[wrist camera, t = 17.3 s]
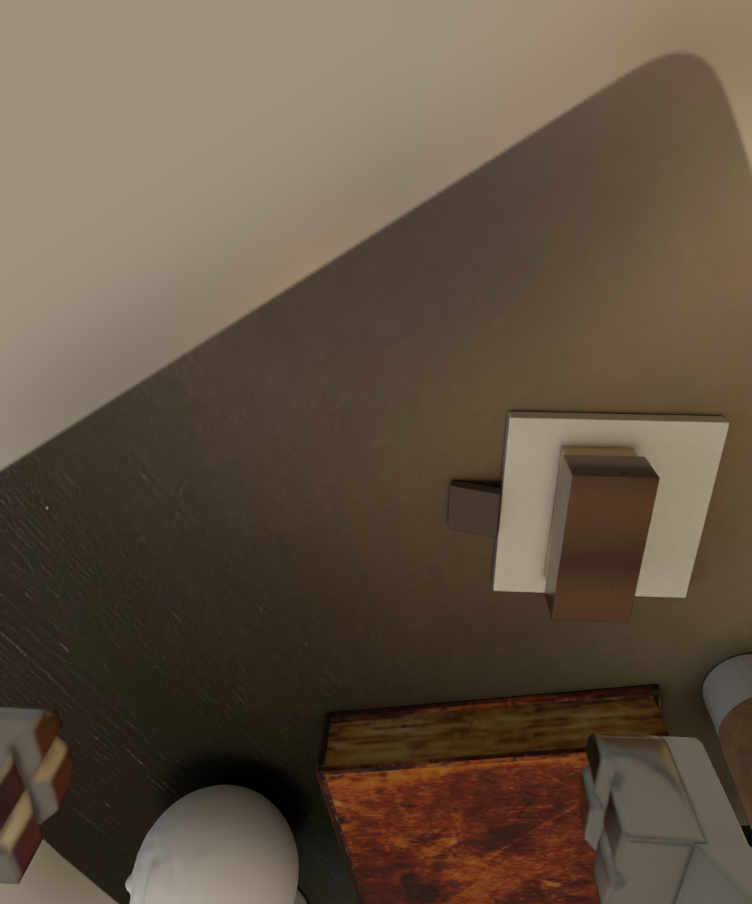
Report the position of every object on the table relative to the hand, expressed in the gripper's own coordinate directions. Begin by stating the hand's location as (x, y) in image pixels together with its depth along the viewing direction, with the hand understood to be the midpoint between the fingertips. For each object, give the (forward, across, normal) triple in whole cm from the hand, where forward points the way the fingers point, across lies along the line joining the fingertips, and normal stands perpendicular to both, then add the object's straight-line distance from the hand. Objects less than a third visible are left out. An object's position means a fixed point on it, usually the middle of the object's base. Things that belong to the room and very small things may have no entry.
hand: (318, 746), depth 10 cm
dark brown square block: (+28, -5, +12) cm, 31 cm away
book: (+28, -9, +43) cm, 52 cm away
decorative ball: (+28, +12, +41) cm, 51 cm away
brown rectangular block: (+27, -12, +12) cm, 32 cm away
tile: (+28, -13, +12) cm, 33 cm away
